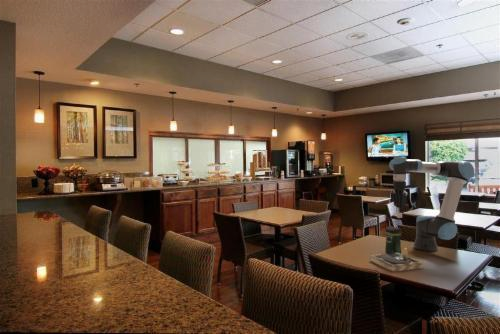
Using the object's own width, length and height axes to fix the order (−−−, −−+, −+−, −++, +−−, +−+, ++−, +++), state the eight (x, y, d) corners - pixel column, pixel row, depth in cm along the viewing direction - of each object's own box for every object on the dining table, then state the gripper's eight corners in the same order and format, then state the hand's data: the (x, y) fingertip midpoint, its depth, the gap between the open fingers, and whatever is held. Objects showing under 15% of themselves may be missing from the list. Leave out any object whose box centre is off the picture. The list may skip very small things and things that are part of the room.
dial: (375, 258, 199) (375, 244, 199) (394, 255, 206) (394, 241, 206) (397, 266, 184) (397, 250, 184) (416, 262, 191) (416, 247, 191)
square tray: (398, 258, 207) (398, 252, 207) (422, 268, 188) (422, 261, 188) (371, 260, 202) (371, 254, 202) (393, 271, 183) (393, 264, 183)
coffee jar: (403, 256, 212) (403, 228, 211) (394, 257, 209) (394, 229, 208) (392, 252, 221) (392, 225, 220) (383, 253, 218) (383, 226, 217)
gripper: (387, 180, 210) (387, 216, 211) (402, 181, 198) (401, 219, 199) (397, 179, 212) (397, 215, 213) (412, 181, 200) (411, 219, 200)
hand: (399, 217), depth 206 cm, fingers closed
